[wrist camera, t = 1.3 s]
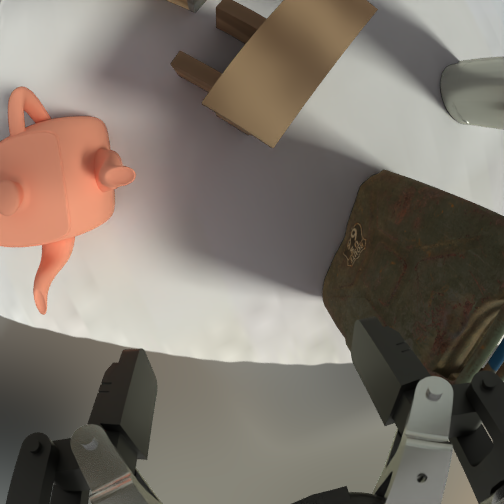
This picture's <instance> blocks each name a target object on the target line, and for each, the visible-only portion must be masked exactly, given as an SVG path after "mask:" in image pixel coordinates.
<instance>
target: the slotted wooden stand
mask: <svg viewBox="0 0 504 504" xmlns="http://www.w3.org/2000/svg"><path fill="white" fill-rule="evenodd" d="M377 10H378V9H377V8H375V7H374V6H373V5H372V4H370V3H369V2H368V1H367V0H284V1H283V2H282V3H281V4H280V5H279V6H278V7H277V8H276V9H275V10H274V12H273V13H272V14H271V15H270V16H269V17H268V18H267V19H266V18H264V17H263V16H261V15H259V14H257V13H256V12H254V11H252V10H250V9H248V8H247V7H245V6H243V5H241V4H239V3H237V2H235V1H233V0H222V1H221V2H220V3H219V4H218V5H217V7H216V28H218V29H220V30H222V31H224V32H226V33H227V34H229V35H231V36H233V37H235V38H236V39H238V40H240V41H242V42H243V43H245V45H244V47H243V48H242V49H241V50H240V52H239V53H238V54H237V55H236V57H235V58H234V59H233V60H232V62H231V63H230V64H229V66H228V67H227V68H226V70H225V71H224V72H223V74H222V73H220V72H219V71H217V70H215V69H213V68H212V67H210V66H208V65H206V64H204V63H202V62H201V61H199V60H197V59H195V58H193V57H191V56H189V55H187V54H186V53H184V52H182V51H179V53H178V54H177V55H176V57H175V58H174V59H173V61H172V62H171V65H172V67H173V68H174V70H175V71H176V72H177V74H178V75H179V76H180V77H182V78H184V79H186V80H188V81H189V82H191V83H193V84H195V85H197V86H198V87H200V88H202V89H204V90H205V91H207V92H209V93H208V94H207V96H206V97H205V99H204V100H203V101H202V105H204V106H206V107H208V108H209V109H211V110H213V111H214V112H216V116H218V117H220V118H221V119H223V120H224V121H226V122H228V123H229V124H231V125H233V126H234V127H236V128H237V129H239V130H240V131H242V132H244V133H245V134H247V135H253V136H254V137H256V138H257V139H259V140H260V141H262V142H263V143H265V144H266V145H268V146H269V147H271V148H274V147H275V145H276V144H277V142H278V141H279V139H280V138H281V137H282V135H283V134H284V132H285V131H286V130H287V128H288V127H289V125H290V124H291V123H292V121H293V120H294V118H295V117H296V116H297V114H298V113H299V111H300V110H301V109H302V107H303V106H304V105H305V103H306V102H307V101H308V99H309V98H310V96H311V95H312V94H313V92H314V91H315V90H316V88H317V87H318V86H319V84H320V83H321V82H322V80H323V79H324V78H325V76H326V75H327V74H328V72H329V71H330V70H331V68H332V67H333V66H334V64H335V63H336V62H337V60H338V59H339V58H340V57H341V55H342V54H343V53H344V51H345V50H346V49H347V48H348V46H349V45H350V44H351V42H352V41H353V40H354V39H355V37H356V36H357V35H358V34H359V32H360V31H361V30H362V28H363V27H364V26H365V25H366V24H367V22H368V21H369V20H370V19H371V17H372V16H373V15H374V14H375V12H376V11H377Z"/></svg>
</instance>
